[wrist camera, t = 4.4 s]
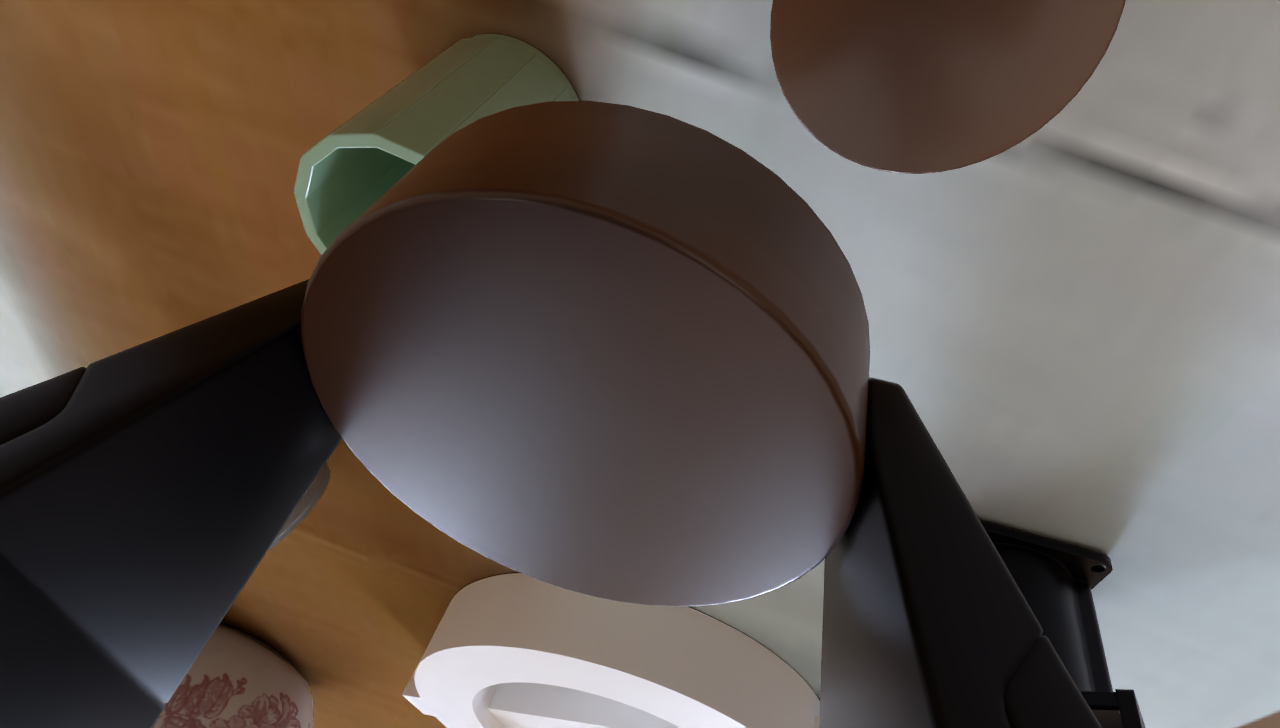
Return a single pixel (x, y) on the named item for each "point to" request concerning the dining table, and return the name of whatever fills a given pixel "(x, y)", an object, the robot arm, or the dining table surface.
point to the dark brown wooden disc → (601, 355)
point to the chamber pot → (239, 688)
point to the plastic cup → (417, 126)
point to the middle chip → (934, 73)
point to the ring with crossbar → (597, 665)
